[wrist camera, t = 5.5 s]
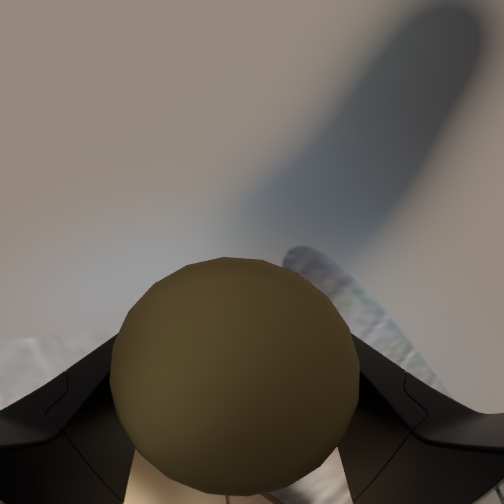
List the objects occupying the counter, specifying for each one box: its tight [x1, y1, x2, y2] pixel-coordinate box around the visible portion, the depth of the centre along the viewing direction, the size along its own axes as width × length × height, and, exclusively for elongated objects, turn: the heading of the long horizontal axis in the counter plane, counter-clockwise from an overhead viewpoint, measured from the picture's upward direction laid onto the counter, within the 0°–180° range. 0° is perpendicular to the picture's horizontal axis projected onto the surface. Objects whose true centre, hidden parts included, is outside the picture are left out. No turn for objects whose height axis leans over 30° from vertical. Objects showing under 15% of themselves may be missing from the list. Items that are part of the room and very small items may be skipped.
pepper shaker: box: [109, 257, 360, 497], centre depth 9 cm, size 6×6×11 cm
